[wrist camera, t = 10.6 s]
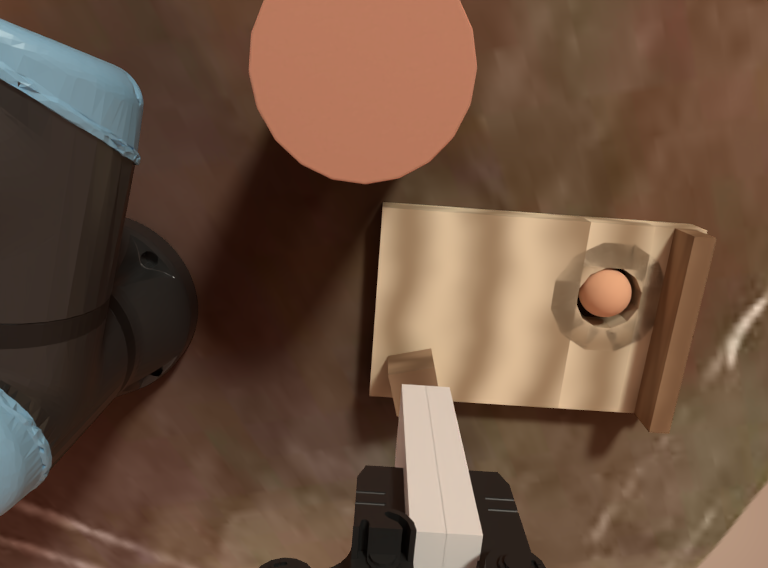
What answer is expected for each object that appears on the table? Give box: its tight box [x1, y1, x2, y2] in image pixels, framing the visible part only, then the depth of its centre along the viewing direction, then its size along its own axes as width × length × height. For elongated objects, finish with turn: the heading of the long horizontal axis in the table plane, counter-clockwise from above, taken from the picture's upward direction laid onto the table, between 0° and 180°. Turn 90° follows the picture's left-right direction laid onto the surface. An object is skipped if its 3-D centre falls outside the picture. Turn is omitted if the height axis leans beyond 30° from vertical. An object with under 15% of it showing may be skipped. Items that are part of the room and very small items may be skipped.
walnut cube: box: [388, 348, 438, 416], centre depth 47 cm, size 4×4×4 cm
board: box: [369, 202, 717, 433], centre depth 47 cm, size 25×16×6 cm, turn 86°
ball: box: [578, 268, 632, 317], centre depth 47 cm, size 4×4×4 cm
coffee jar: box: [248, 0, 477, 184], centre depth 36 cm, size 11×11×18 cm
